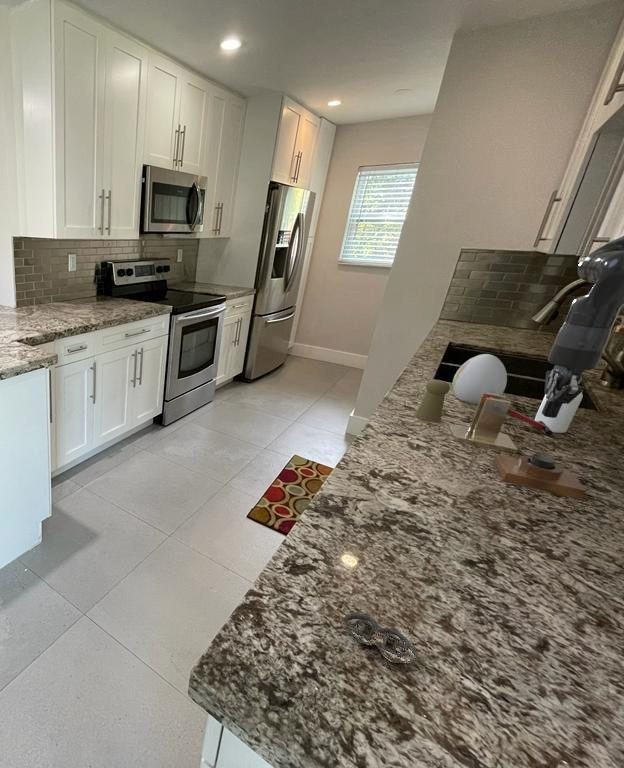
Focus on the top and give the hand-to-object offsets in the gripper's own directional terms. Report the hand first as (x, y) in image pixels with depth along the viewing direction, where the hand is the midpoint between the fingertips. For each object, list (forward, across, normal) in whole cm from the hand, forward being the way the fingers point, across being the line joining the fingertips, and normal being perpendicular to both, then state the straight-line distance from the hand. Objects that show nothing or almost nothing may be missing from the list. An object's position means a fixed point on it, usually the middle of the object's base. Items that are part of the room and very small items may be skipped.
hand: (548, 416), depth 96 cm
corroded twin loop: (+9, -78, +34) cm, 86 cm away
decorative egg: (+10, +33, +6) cm, 35 cm away
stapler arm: (+2, 0, +6) cm, 6 cm away
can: (+10, +19, -8) cm, 23 cm away
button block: (+9, -17, +4) cm, 20 cm away
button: (+6, -17, +4) cm, 18 cm away
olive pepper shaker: (+9, +9, +20) cm, 24 cm away
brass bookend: (+9, 0, +10) cm, 14 cm away
